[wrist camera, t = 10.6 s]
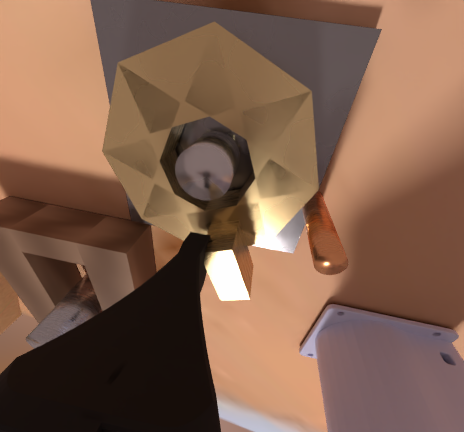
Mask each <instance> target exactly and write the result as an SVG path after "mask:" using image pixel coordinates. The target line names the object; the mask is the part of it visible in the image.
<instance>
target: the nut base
mask: <svg viewBox="0 0 464 432" xmlns="http://www.w3.org/2000/svg"><path fill="white" fill-rule="evenodd" d="M91 6H92V11H93V16H94V22H95V27H96V33H97V38H98V43H99V49H100V54H101V60H102V65H103V71H104V76H105V81H106V87H107V92H108V98H109V103H110V104H111V98H112V93H113V87H114V81H115V76H116V70H117V64H118V62H120V61H123V60H125V59H127V58H130V57H132V56H134V55H137V54H139V53H142V52H144V51H146V50H149V49H151V48H153V47H156V46H158V45H160V44H163V43H165V42H167V41H170V40H172V39H174V38H177V37H179V36H182V35H184V34H186V33H189V32H191V31H193V30H196V29H198V28H200V27H203V26H205V25H207V24H210V23H212V22H216V23H217V24H219V25H220V26H222V27H223V28H224V29H226V30H227V31H229V32H230V33H231V34H233V35H234V36H236V37H237V38H238V39H240V40H241V41H243V42H244V43H245V44H247V45H248V46H250V47H251V48H252V49H254V50H255V51H257V52H258V53H259V54H261V55H262V56H264V57H265V58H266V59H268V60H269V61H271V62H272V63H273V64H275V65H276V66H277V67H279V68H280V69H282V70H283V71H284V72H286V73H287V74H289V75H290V76H291V77H293V78H294V79H296V80H297V81H298V82H300V83H301V84H303V85H304V86H305V87H307V88H308V89H310V90H311V91H312V101H313V115H314V129H315V142H316V156H317V170H318V184H319V187H320V185H321V182H322V180H323V177H324V175H325V172H326V169H327V167H328V164H329V162H330V159H331V157H332V154H333V152H334V149H335V147H336V144H337V142H338V139H339V136H340V134H341V131H342V129H343V126H344V124H345V121H346V119H347V116H348V114H349V111H350V109H351V106H352V103H353V101H354V98H355V96H356V93H357V91H358V88H359V86H360V83H361V81H362V78H363V76H364V73H365V70H366V68H367V65H368V63H369V60H370V58H371V55H372V53H373V50H374V48H375V45H376V43H377V40H378V37H379V35H380V32H381V30H382V29H375V28H368V27H360V26H352V25H344V24H336V23H328V22H321V21H313V20H305V19H297V18H289V17H281V16H274V15H266V14H258V13H250V12H242V11H234V10H227V9H219V8H211V7H203V6H195V5H187V4H180V3H172V2H164V1H156V0H91ZM175 151H176V154H177V156H178V159H177V161H176V165H175V174H176V178H177V180H178V182H179V184H180V186H181V187H182V188H183V190H184V191H185V192H187V193H188V194H189V195H191V196H192V197H194V198H197V199H200V200H215V199H218V198H220V197H221V196H223V195H224V194H225V193H226V192H227V191H233V190H238V189H242V187H243V186H244V184H245V183H246V181H247V180H248V178H249V177H250V175H251V174H252V172H253V171H254V169H253V165H252V161H251V156H250V152H249V148H248V144H247V140H246V139H244V138H243V137H241V136H240V135H238V134H237V133H235V132H233V131H232V130H230V129H229V128H227V127H226V126H224V125H222V124H221V123H219V122H218V121H216V120H215V119H213V118H211V117H210V116H209V117H206V118H202V119H199V120H195V121H192V122H189V123H185V125H184V128H183V130H182V133H181V135H180V138H179V140H178V143H177V145H176V148H175ZM126 195H127V193H126ZM127 200H128V206H129V211H130V217H131V221H134V222H139V223H144V224H149V225H153V224H151V223H149V222H147V221H145V220H143V219H141V217H140V215H139V213H138V212H137V210H136V208H135V207H134V205H133V203H132V201H131V200H130V198H129V196H128V195H127ZM304 225H306V230H307V235H308V240H309V245H310V249H311V254H312V259H313V264H314V267H315V269H316V270H317V271H318V272H320V273H322V274H326V275H334V274H338V273H340V272H342V271H344V270H345V269H346V268H347V266H348V259H347V257H346V254H345V252H344V249H343V247H342V244H341V241H340V239H339V236H338V234H337V231H336V229H335V226H334V224H333V221H332V219H331V216H330V214H329V211H328V209H327V206H326V204H325V201H324V199H323V196H322V194H321V193H320V192H319V191H317V192H316V193H315V194H314V195H313V197H312V198H311V199H310V200H309V201H308V202H307V203H306V204H305V205H304V206H303V207H302V208H301V209H300V210H299V211H298V212H297V214H296V215H295V216H294V217H293V218H292V219H291V220H290V221H289V222H288V223H287V224H286V225H285V226H284V227H283V228H282V229H281V231H280V232H279V233H278V234H277V235H276V236H275V237H274V238H273V239H272V240H271V241H270V242H269V243H268V244H260V245H254V246H259V247H264V248H269V249H274V250H279V251H284V252H289V253H294V251H295V248H296V246H297V243H298V241H299V238H300V235H301V233H302V230H303V228H304ZM154 226H155V225H154Z"/></svg>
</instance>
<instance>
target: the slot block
mask: <svg viewBox="0 0 464 432" xmlns="http://www.w3.org/2000/svg"><path fill="white" fill-rule="evenodd" d="M75 263H76V264H80V265H84V266H85V268H86V271H87V273H88V276H89V278H90V281H91V283H92V286H93V288H94V291H95V293H96V296H97V298H98V301H99V303H100V306H101V308H102V311H104V310H105V309H107V308H109V307H110V306H112V305H113V304H115V303H116V302H118V301H119V300H121V299H122V298H124V297H125V296H127V295H128V294H130V293H131V292H132V291H134V290H135V289H136V288H138V287H139V286H141V285H142V284H143V283H144V282H146V281H147V280H148V279H150V278H151V277H152V276H153V275H154V274H156V267H155V259H154V250H153V242H152V234H151V226H150V225H149V224H144V223H139V222H134V221H131V220H126V219H121V218H116V217H111V216H106V215H101V214H96V213H91V212H86V211H81V210H76V209H71V208H66V207H61V206H56V205H51V204H46V203H41V202H36V201H31V200H26V199H21V198H16V197H11V196H9V197H6V198H4V199H2V200H0V272H1V273H2V275H3V276H4V277H5V279H6V280H7V281H8V283H9V284H10V285H11V287H12V288H13V289H14V291H15V292H16V293H17V295H18V296H19V298H20V299H21V300H22V302H23V303H24V304H25V306H26V307H27V308H28V310H29V311H30V312H31V314H32V315H33V316H34V318H35V319H36V320H37V322H38V323H40V322H41V321H42V320H43V319H44V318H45V317H46V316H47V315H48V314H49V313H50V312H51V311H52V310H53V309H54V307H55V306H56V305H57V304H58V303H59V302H60V301H61V300H62V299H63V298H64V297H65V296H66V295H67V294H68V293H69V292H70V290H71V289H72V288H73V287H74V286H75V285H76V284H77V283H78V282H79V281H80V280H81V279H82V278H81V276H80V273H79V271H78V269H77V266H76V264H75ZM100 313H101V312H100Z"/></svg>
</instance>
